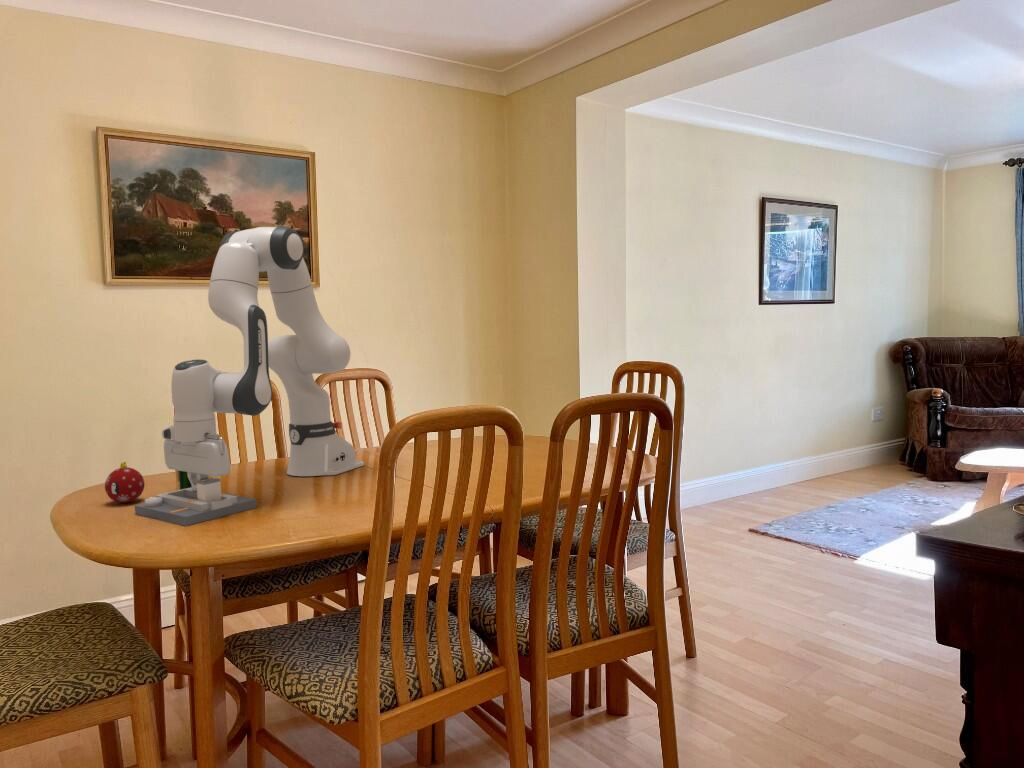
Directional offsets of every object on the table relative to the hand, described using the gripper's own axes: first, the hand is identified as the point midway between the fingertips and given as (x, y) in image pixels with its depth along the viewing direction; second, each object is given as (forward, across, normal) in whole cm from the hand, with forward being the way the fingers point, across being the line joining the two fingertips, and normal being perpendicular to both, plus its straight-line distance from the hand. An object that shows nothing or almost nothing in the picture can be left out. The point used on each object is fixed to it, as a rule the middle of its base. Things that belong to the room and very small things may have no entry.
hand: (199, 491), depth 174 cm
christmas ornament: (+5, +24, +4) cm, 25 cm away
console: (+5, +1, 0) cm, 5 cm away
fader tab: (+2, -4, 0) cm, 4 cm away
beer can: (+5, +20, -10) cm, 22 cm away
